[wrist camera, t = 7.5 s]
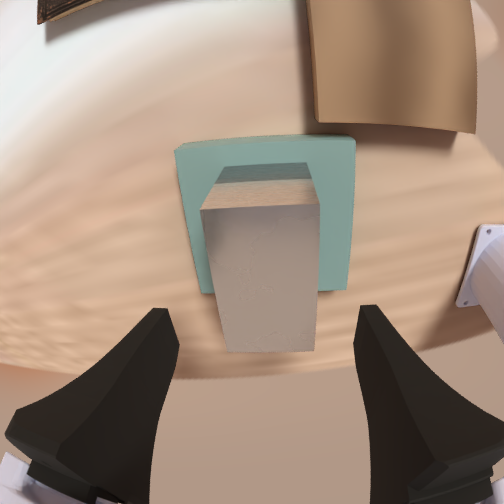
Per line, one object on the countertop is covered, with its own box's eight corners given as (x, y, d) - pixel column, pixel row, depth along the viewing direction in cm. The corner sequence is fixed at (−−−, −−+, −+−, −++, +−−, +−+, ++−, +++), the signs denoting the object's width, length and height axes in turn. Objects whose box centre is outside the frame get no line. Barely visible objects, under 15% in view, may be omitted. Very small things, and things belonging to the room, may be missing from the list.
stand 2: (452, -10, 11) (467, -16, 9) (459, 127, 16) (475, 134, 14) (301, -34, 12) (303, -46, 10) (314, 118, 17) (318, 122, 15)
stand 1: (347, 134, 17) (355, 140, 15) (341, 273, 22) (346, 289, 20) (183, 143, 18) (173, 150, 16) (206, 276, 23) (201, 293, 22)
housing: (307, 282, 20) (314, 351, 15) (239, 283, 21) (227, 352, 16) (306, 162, 16) (320, 204, 11) (224, 166, 17) (199, 209, 12)
